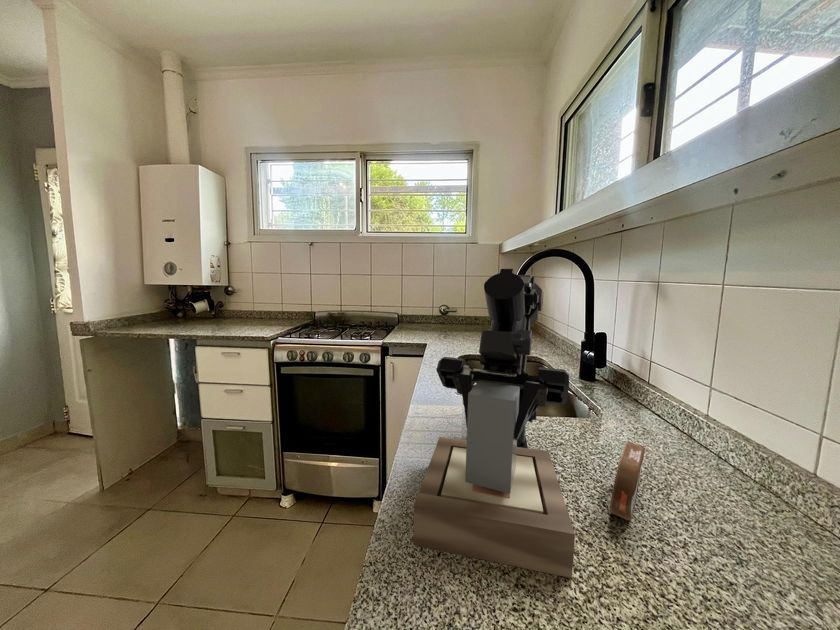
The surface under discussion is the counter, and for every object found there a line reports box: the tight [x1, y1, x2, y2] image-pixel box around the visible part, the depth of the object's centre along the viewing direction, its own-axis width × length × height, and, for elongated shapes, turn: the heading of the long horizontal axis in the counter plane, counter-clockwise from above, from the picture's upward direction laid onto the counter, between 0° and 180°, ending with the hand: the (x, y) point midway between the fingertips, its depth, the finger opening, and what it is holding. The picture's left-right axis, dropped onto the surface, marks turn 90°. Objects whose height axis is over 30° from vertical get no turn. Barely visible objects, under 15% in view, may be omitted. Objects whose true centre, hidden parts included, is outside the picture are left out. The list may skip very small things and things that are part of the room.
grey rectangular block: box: [465, 381, 520, 494], centre depth 45 cm, size 6×6×12 cm
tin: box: [609, 440, 646, 521], centre depth 50 cm, size 15×3×8 cm, turn 141°
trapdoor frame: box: [412, 436, 576, 579], centre depth 48 cm, size 19×19×6 cm
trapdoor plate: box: [441, 447, 543, 514], centre depth 48 cm, size 13×13×1 cm
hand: (491, 434), depth 44 cm, fingers closed on grey rectangular block, 6 cm apart
